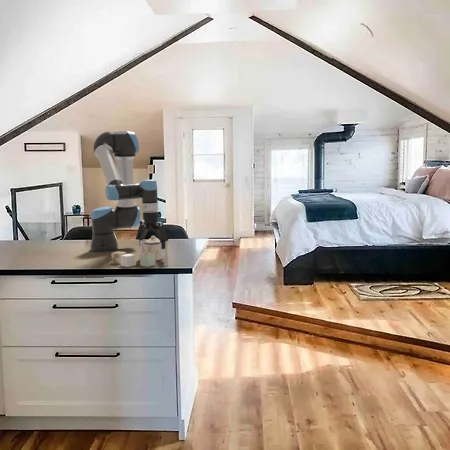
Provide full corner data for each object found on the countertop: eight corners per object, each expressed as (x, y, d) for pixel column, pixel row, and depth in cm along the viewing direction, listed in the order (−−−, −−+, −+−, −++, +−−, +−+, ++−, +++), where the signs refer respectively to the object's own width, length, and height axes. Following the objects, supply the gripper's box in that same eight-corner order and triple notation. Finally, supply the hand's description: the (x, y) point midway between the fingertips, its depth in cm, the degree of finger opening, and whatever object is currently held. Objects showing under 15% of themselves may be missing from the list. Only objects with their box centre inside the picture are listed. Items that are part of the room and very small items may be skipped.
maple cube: (111, 263, 250) (111, 253, 249) (118, 261, 254) (118, 251, 254) (120, 264, 248) (119, 253, 247) (126, 262, 252) (126, 252, 251)
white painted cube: (121, 265, 244) (120, 255, 243) (129, 263, 247) (129, 253, 247) (127, 267, 240) (126, 256, 240) (136, 265, 244) (135, 254, 243)
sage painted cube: (140, 265, 243) (139, 255, 242) (148, 263, 246) (147, 253, 246) (147, 266, 239) (147, 256, 239) (155, 264, 243) (155, 254, 243)
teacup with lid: (150, 256, 262) (149, 234, 261) (166, 257, 259) (165, 234, 257) (138, 261, 251) (137, 238, 250) (155, 262, 248) (153, 238, 246)
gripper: (127, 211, 256) (129, 253, 259) (163, 213, 241) (165, 258, 244) (138, 209, 262) (141, 250, 265) (174, 211, 247) (176, 255, 250)
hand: (152, 254), depth 255 cm, fingers open, 13 cm apart
